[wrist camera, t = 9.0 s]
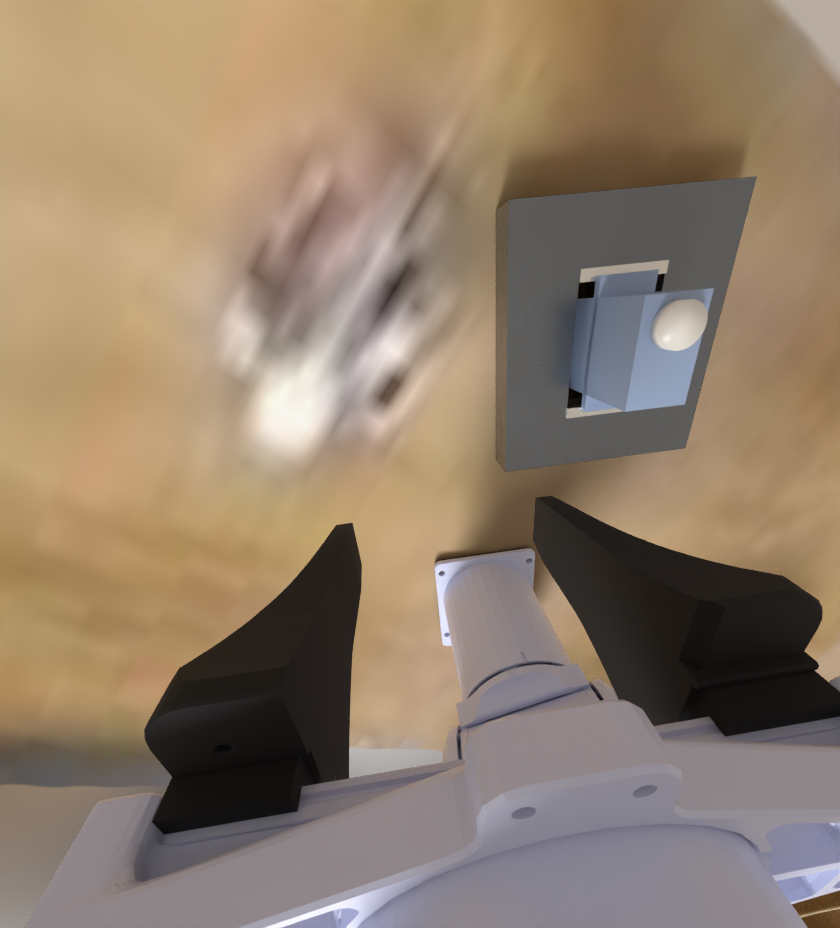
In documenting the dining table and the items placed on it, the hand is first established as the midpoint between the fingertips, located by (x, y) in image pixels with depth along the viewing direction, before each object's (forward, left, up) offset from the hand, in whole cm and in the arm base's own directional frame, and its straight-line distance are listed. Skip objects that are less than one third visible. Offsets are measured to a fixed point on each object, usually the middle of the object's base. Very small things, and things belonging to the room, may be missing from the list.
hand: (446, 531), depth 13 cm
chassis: (+5, -11, -10) cm, 16 cm away
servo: (+5, -11, -10) cm, 16 cm away
